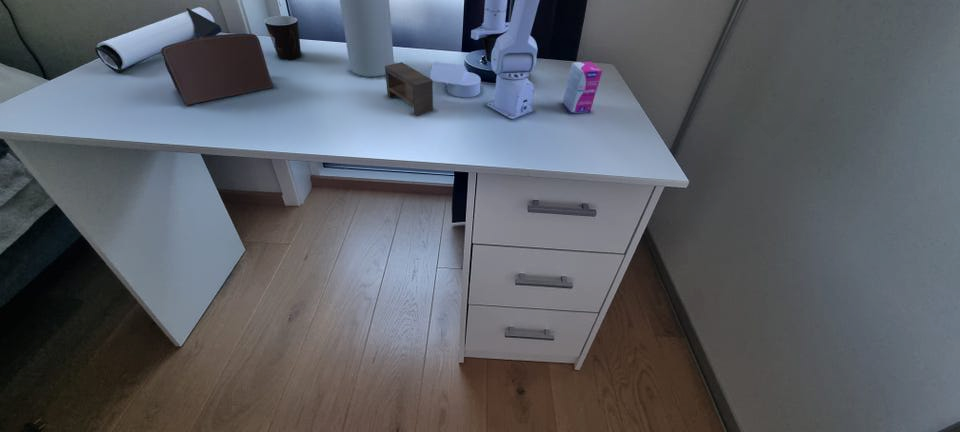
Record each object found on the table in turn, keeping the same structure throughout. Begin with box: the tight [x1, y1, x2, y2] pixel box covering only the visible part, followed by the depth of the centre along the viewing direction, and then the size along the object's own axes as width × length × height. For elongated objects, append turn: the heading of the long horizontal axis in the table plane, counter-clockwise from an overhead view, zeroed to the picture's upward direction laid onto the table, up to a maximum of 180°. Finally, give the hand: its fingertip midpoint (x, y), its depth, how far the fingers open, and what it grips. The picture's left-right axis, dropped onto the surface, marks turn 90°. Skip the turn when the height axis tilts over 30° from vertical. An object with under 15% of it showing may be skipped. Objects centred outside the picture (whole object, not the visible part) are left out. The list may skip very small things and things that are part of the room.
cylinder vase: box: [339, 0, 395, 78], centre depth 107 cm, size 12×12×25 cm
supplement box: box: [561, 61, 603, 114], centre depth 101 cm, size 6×6×12 cm
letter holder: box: [160, 33, 274, 107], centre depth 95 cm, size 10×20×14 cm, turn 129°
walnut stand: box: [385, 62, 434, 117], centre depth 98 cm, size 13×5×8 cm, turn 42°
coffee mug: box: [263, 15, 302, 61], centre depth 114 cm, size 12×9×10 cm
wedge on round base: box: [429, 61, 482, 98], centre depth 107 cm, size 9×7×13 cm
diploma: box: [94, 6, 223, 74], centre depth 111 cm, size 35×9×14 cm
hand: (490, 61), depth 112 cm, fingers closed
